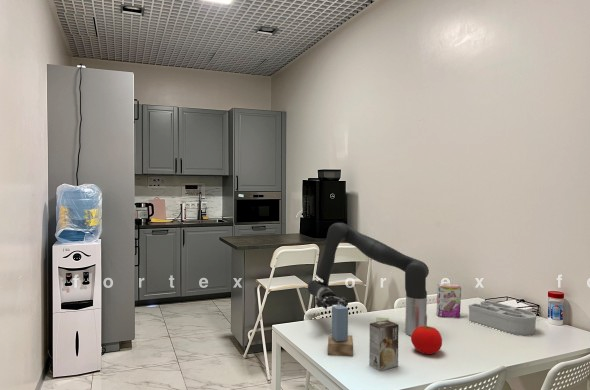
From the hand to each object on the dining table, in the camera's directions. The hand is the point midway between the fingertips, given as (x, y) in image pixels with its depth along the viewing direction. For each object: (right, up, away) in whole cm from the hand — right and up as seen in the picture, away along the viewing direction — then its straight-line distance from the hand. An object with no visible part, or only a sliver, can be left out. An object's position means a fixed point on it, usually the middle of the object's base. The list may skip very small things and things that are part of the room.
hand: (335, 306), depth 184 cm
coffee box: (+16, -16, -25) cm, 34 cm away
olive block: (+18, -15, -11) cm, 26 cm away
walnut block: (+1, -16, -11) cm, 19 cm away
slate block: (0, -10, -12) cm, 16 cm away
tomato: (+36, -16, -11) cm, 41 cm away
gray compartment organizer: (+84, -16, +21) cm, 88 cm away
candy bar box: (+62, -15, +36) cm, 74 cm away
